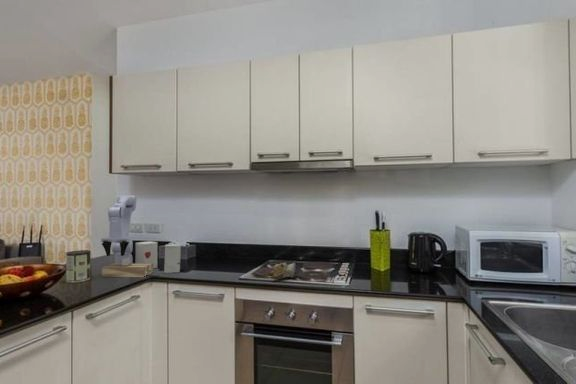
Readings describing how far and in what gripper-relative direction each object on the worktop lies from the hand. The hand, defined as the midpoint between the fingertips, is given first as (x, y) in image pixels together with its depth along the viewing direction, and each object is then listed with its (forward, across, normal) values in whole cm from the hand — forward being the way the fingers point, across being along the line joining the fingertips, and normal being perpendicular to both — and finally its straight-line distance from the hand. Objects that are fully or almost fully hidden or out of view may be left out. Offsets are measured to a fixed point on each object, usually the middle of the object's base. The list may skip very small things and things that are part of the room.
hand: (115, 255), depth 172 cm
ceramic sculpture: (+11, +88, -5) cm, 89 cm away
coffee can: (+11, -13, -9) cm, 19 cm away
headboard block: (+10, +6, +2) cm, 12 cm away
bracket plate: (+9, +5, +2) cm, 11 cm away
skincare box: (+11, +27, +9) cm, 30 cm away
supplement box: (+10, +8, +18) cm, 23 cm away
